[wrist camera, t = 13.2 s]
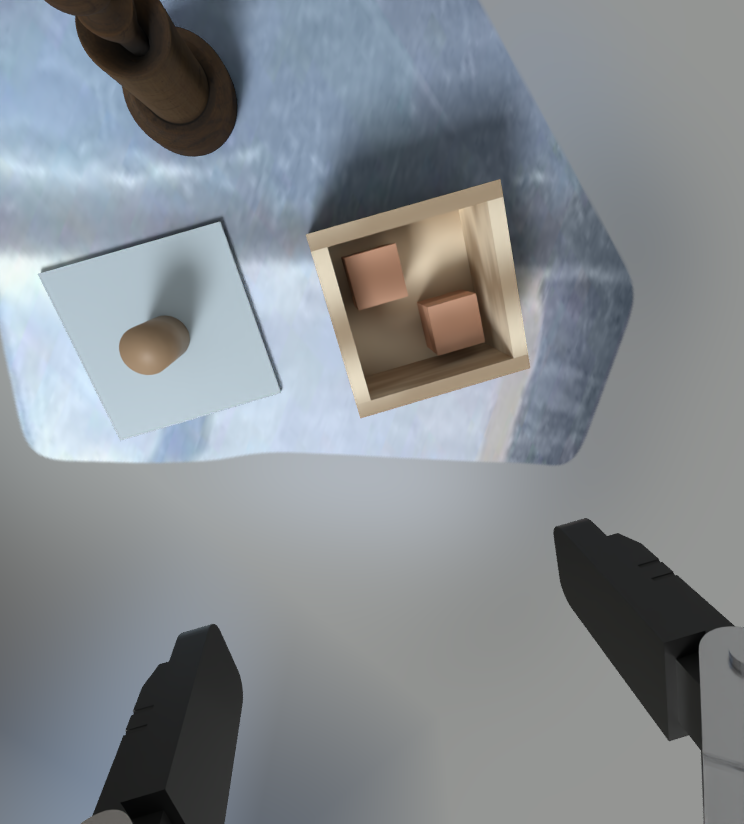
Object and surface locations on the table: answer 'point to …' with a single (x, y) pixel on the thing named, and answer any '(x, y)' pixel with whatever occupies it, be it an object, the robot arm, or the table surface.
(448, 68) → the table surface
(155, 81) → the mortar and pestle
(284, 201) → the table surface
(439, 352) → the block
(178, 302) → the lid
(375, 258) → the block
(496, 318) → the box
